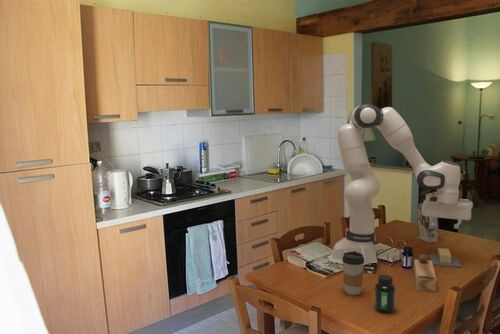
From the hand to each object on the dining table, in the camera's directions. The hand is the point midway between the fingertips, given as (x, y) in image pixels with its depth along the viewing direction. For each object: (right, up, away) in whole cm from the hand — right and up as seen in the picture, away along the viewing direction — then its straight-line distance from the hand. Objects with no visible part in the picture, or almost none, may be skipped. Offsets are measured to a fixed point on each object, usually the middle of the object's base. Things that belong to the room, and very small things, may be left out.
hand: (444, 227), depth 190 cm
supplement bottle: (-39, -24, -39) cm, 60 cm away
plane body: (-16, -19, -17) cm, 30 cm away
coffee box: (+6, -11, +32) cm, 35 cm away
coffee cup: (-47, -22, -25) cm, 58 cm away
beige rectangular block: (+1, -15, +2) cm, 15 cm away
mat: (+1, -16, +2) cm, 16 cm away
